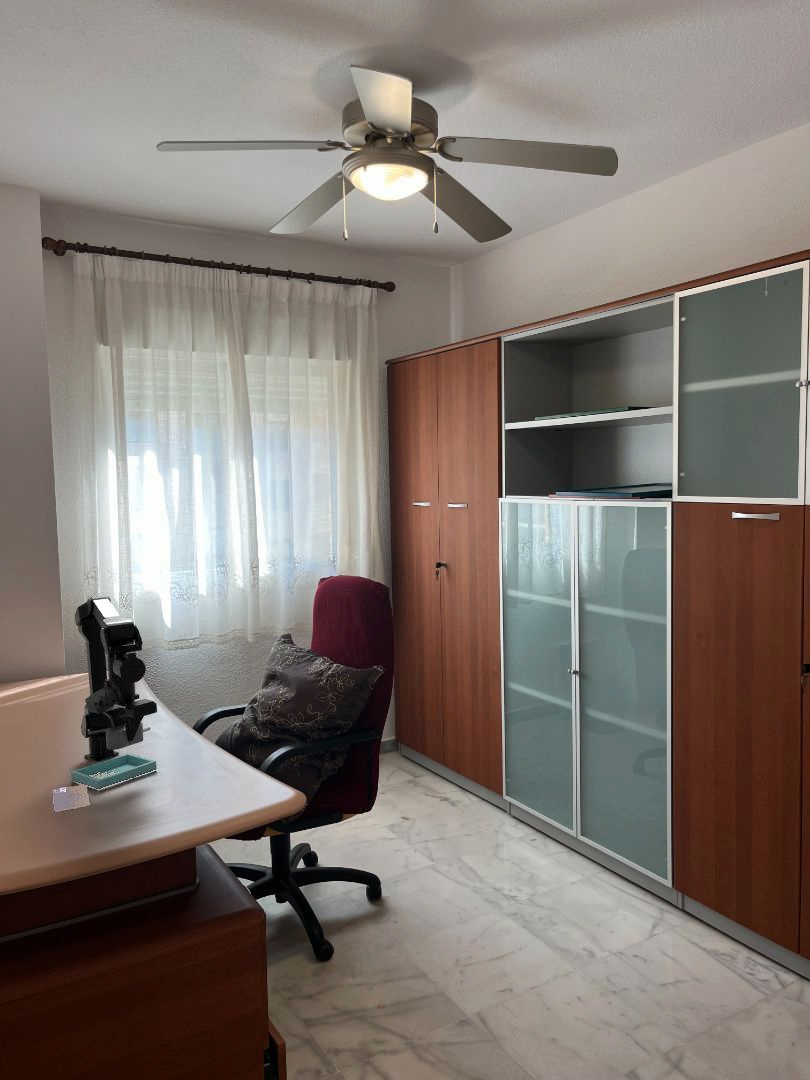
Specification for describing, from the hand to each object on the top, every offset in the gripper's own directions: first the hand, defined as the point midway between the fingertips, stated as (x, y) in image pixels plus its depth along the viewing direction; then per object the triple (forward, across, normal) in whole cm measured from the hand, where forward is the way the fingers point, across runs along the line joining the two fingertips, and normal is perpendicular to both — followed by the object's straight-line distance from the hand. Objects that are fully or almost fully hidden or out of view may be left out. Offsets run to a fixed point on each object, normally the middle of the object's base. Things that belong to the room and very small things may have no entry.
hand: (125, 739), depth 186 cm
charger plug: (+1, 0, 0) cm, 1 cm away
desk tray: (+11, -6, +1) cm, 12 cm away
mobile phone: (+11, -3, -13) cm, 17 cm away
